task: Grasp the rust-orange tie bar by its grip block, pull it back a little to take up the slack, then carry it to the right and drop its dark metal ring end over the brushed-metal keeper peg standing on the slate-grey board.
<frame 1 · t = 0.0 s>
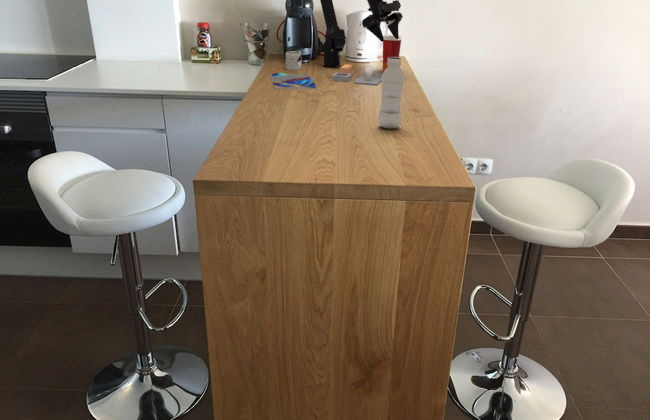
hand: (390, 40, 225), 15 cm above the table, tool tilted 35°, fingers open, 9 cm apart
tie bar: (341, 79, 226), on the table
plastic bottle: (388, 128, 168), on the table
multicolored flat slab: (292, 83, 221), on the table
coffee cup: (389, 72, 243), on the table
keeper: (370, 79, 227), on the table
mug: (293, 68, 246), on the table
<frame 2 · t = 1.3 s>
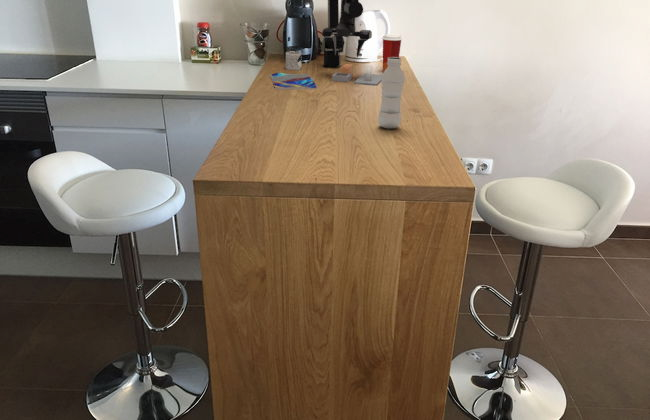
hand: (346, 55, 228), 8 cm above the table, tool pointing down, fingers open, 9 cm apart
nothing on the table moved.
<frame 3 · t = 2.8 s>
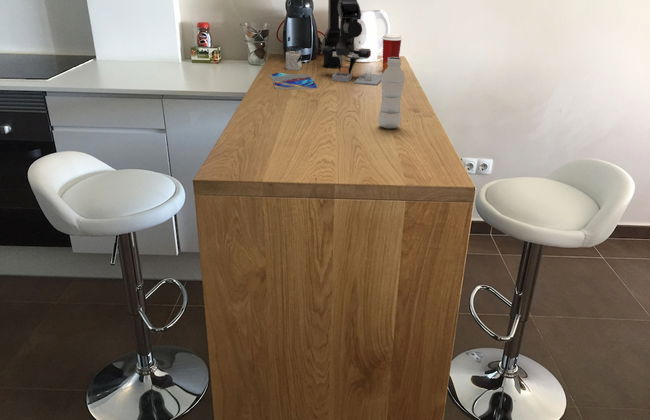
hand: (345, 73, 231), 1 cm above the table, tool pointing down, fingers closed on tie bar, 3 cm apart
tie bar: (341, 79, 226), on the table, touching gripper
everything else where it was.
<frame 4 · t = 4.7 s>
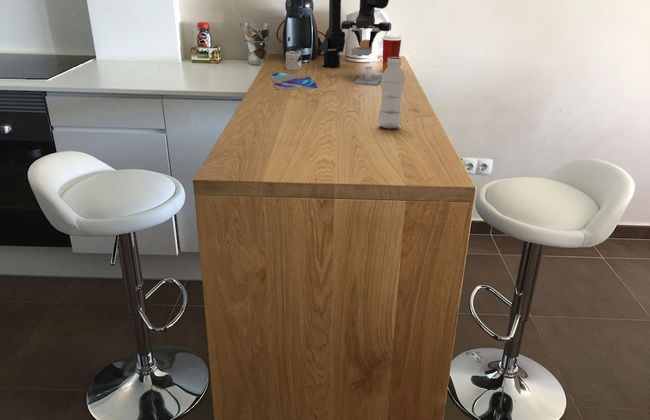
hand: (365, 48, 225), 12 cm above the table, tool pointing down, fingers closed on tie bar, 3 cm apart
tie bar: (361, 53, 221), point 10 cm above the table, touching gripper
everything else where it was.
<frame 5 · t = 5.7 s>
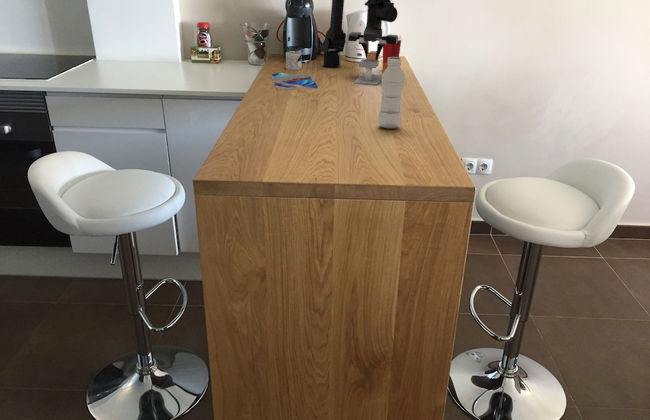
hand: (371, 60, 226), 7 cm above the table, tool pointing down, fingers closed on tie bar, 3 cm apart
tie bar: (368, 66, 221), point 6 cm above the table, touching gripper
everything else where it was.
when the fingers open (3 cm above the table, at t = 6.6 s): tie bar drops 1 cm, resting on keeper.
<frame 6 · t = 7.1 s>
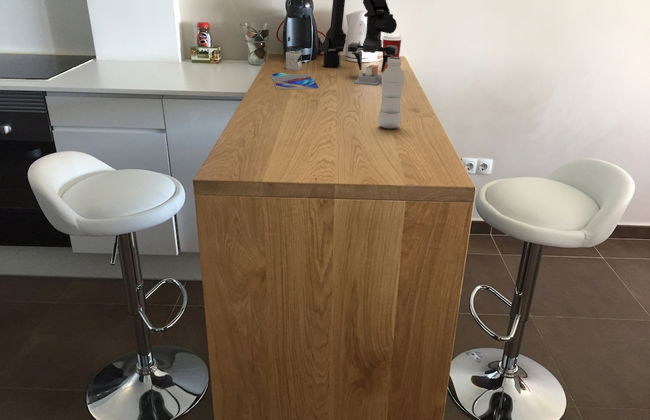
hand: (371, 71, 227), 3 cm above the table, tool pointing down, fingers open, 8 cm apart
tie bar: (368, 80, 224), point 1 cm above the table, touching keeper
everything else where it was.
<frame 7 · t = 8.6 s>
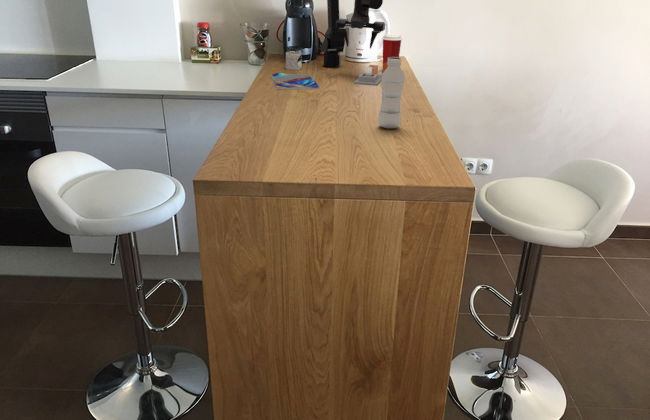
hand: (359, 47, 228), 11 cm above the table, tool pointing down, fingers open, 9 cm apart
nothing on the table moved.
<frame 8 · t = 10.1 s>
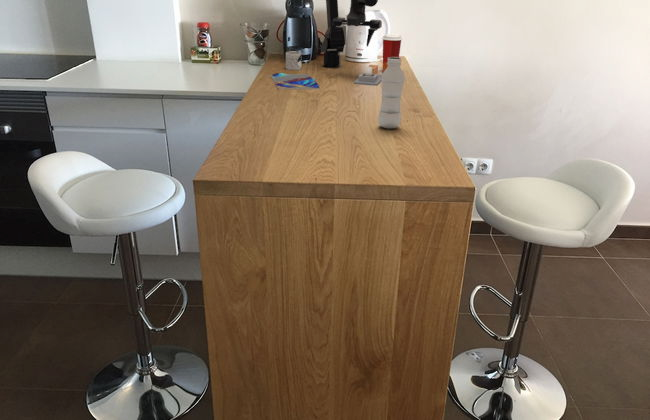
hand: (356, 45, 229), 12 cm above the table, tool pointing down, fingers open, 9 cm apart
nothing on the table moved.
at the end: tie bar 0.0 cm from the target spot on the keeper, point 0.6 cm above the keeper's base; the gripper is holding nothing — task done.
